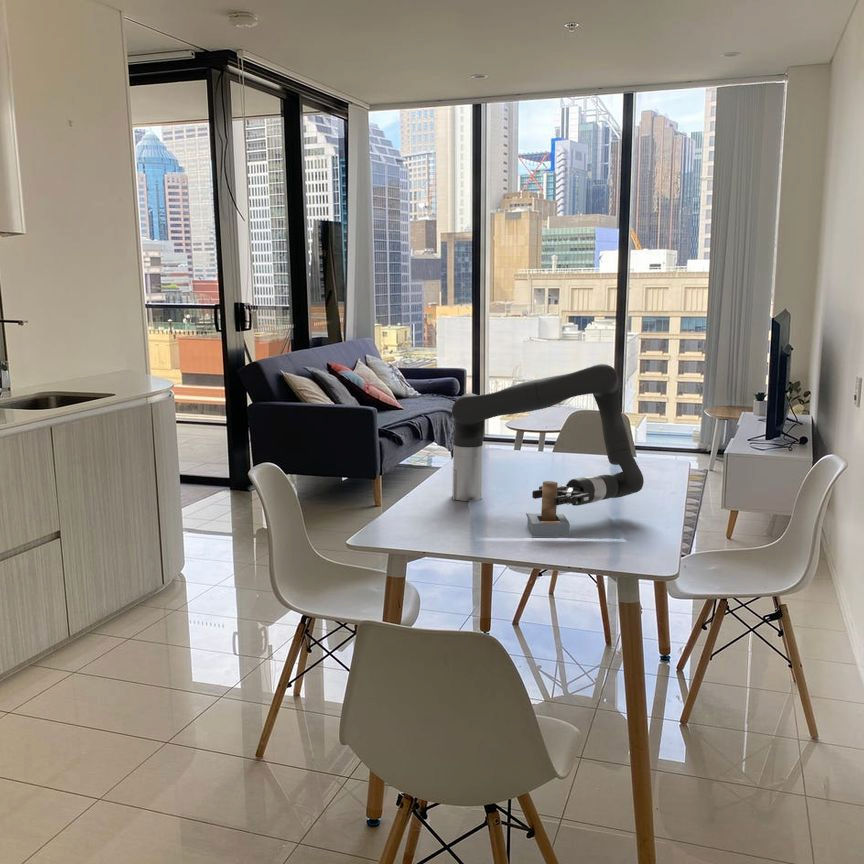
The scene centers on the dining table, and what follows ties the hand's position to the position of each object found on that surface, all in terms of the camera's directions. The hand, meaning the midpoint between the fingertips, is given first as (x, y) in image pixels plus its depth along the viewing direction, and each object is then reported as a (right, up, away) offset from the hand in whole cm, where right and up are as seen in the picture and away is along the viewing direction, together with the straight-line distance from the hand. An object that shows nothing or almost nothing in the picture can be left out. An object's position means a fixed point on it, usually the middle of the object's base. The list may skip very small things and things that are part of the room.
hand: (543, 498), depth 233 cm
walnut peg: (+1, -10, +3) cm, 10 cm away
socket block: (+1, -10, +3) cm, 10 cm away
